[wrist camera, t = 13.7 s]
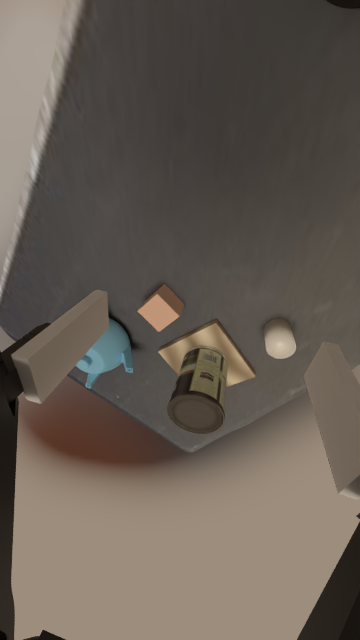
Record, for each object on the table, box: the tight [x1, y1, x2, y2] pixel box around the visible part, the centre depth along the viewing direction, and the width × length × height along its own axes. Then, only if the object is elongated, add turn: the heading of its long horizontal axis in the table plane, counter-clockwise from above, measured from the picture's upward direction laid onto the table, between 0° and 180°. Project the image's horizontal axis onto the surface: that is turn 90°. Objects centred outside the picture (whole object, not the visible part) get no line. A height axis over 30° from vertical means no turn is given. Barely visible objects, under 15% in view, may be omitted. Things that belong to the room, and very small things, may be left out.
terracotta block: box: [138, 284, 185, 332], centre depth 48 cm, size 6×6×5 cm
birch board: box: [158, 319, 256, 387], centre depth 55 cm, size 16×16×2 cm
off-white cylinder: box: [264, 319, 296, 359], centre depth 45 cm, size 5×5×6 cm
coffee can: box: [167, 346, 228, 434], centre depth 48 cm, size 10×10×14 cm
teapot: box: [76, 318, 133, 388], centre depth 54 cm, size 15×15×11 cm
